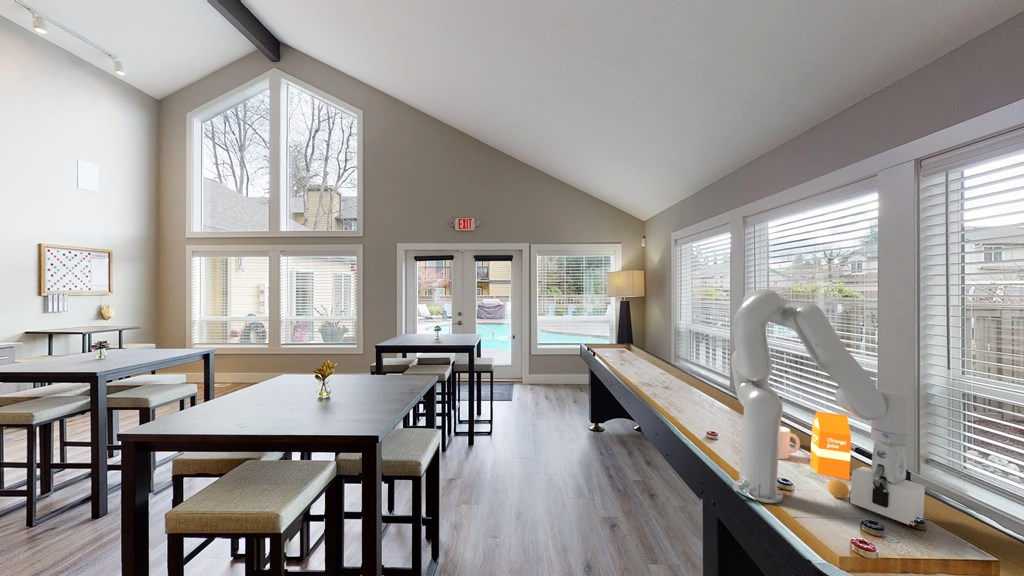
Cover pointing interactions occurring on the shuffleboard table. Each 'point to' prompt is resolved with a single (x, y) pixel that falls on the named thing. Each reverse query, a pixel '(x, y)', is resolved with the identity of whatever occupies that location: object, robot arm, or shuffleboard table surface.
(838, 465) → the orange juice
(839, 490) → the ball
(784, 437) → the mug
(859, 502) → the frosted white brick
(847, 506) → the shuffleboard table surface
